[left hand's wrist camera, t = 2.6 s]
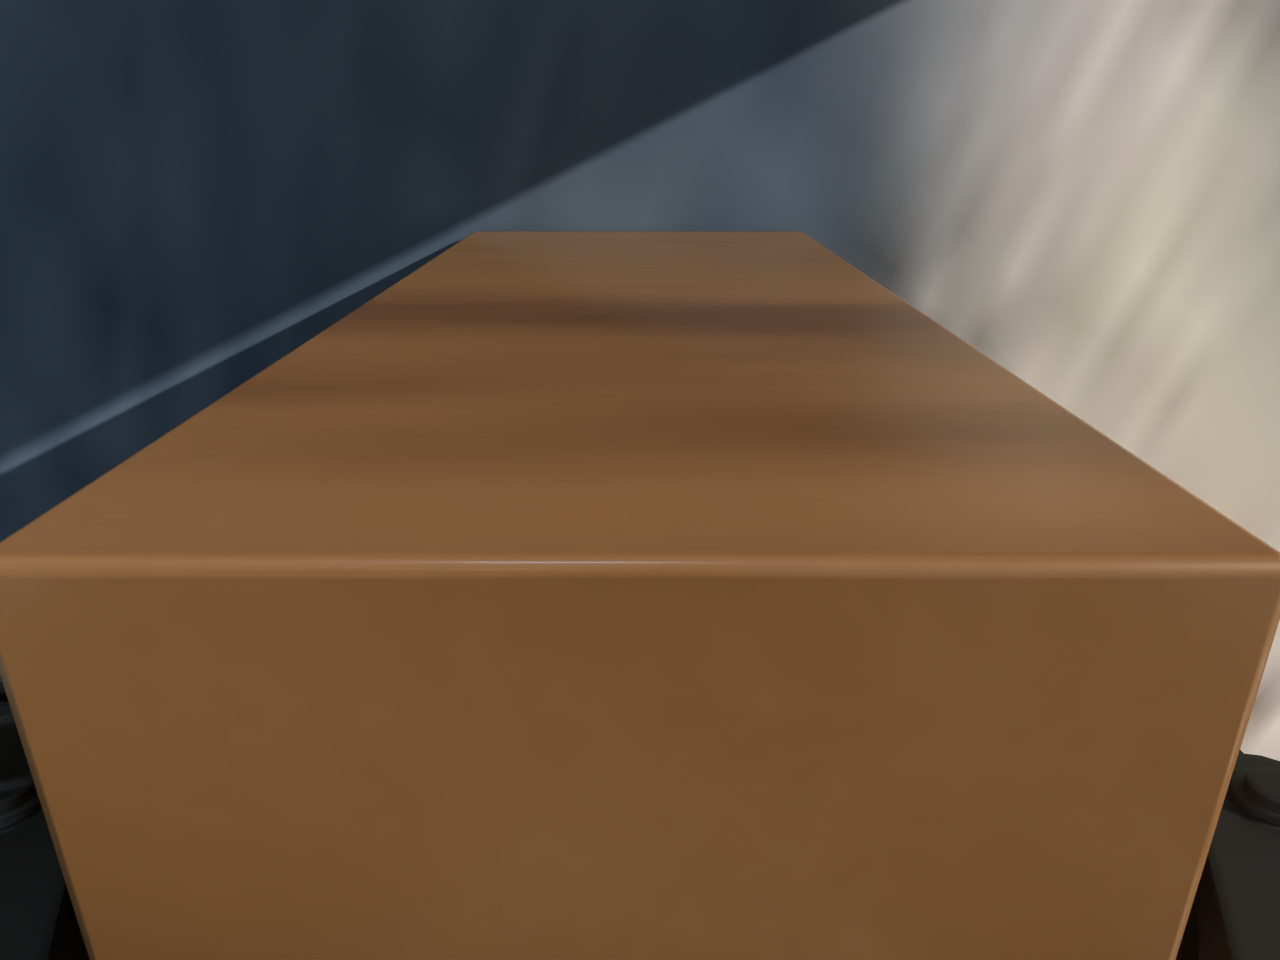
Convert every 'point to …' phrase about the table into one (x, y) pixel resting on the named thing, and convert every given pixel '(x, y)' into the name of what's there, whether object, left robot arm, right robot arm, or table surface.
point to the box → (633, 637)
